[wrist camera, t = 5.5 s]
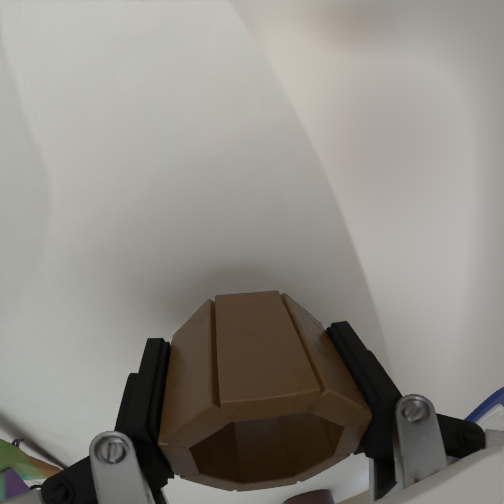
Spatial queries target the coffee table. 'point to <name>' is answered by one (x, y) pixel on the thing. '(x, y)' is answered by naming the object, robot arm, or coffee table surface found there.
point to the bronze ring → (257, 396)
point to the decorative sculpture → (19, 469)
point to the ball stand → (312, 498)
